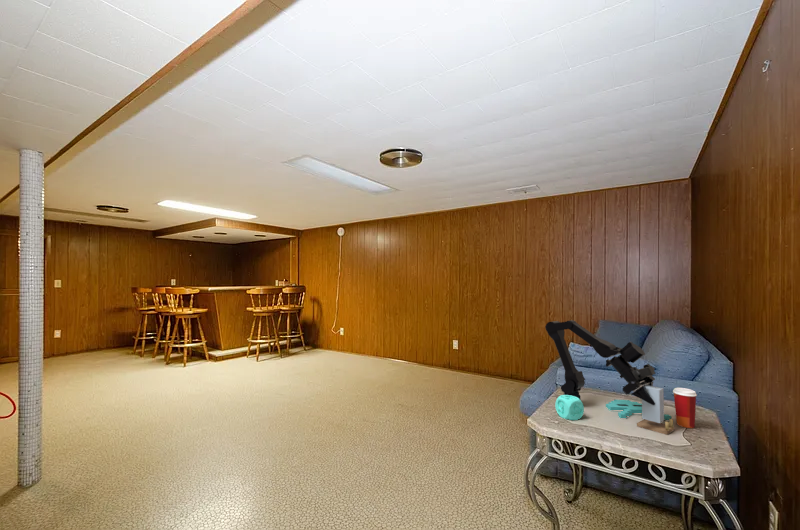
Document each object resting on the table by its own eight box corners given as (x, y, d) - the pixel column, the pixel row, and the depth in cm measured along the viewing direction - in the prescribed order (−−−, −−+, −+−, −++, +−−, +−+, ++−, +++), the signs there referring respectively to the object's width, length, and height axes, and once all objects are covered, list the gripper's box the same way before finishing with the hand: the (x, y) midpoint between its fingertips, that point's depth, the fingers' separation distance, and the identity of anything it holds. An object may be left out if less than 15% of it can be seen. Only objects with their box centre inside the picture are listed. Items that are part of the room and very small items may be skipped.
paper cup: (691, 422, 146) (690, 388, 147) (702, 430, 139) (701, 393, 140) (669, 421, 148) (668, 386, 149) (679, 428, 141) (678, 392, 141)
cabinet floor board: (636, 426, 142) (636, 415, 143) (644, 421, 147) (644, 411, 147) (667, 435, 134) (667, 423, 134) (674, 429, 139) (674, 418, 139)
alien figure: (671, 421, 149) (643, 405, 168) (671, 416, 149) (643, 400, 169) (620, 419, 151) (599, 403, 170) (620, 414, 151) (599, 399, 171)
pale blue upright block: (642, 418, 143) (641, 386, 143) (646, 416, 145) (645, 384, 146) (660, 423, 138) (659, 390, 138) (664, 420, 140) (663, 388, 141)
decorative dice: (584, 419, 149) (584, 399, 150) (568, 421, 147) (568, 401, 147) (570, 412, 157) (569, 394, 157) (555, 414, 155) (554, 395, 155)
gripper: (630, 360, 140) (665, 396, 131) (648, 355, 151) (681, 388, 142) (609, 376, 146) (641, 412, 137) (628, 370, 157) (658, 402, 148)
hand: (656, 403), depth 141 cm, fingers closed on pale blue upright block, 4 cm apart
